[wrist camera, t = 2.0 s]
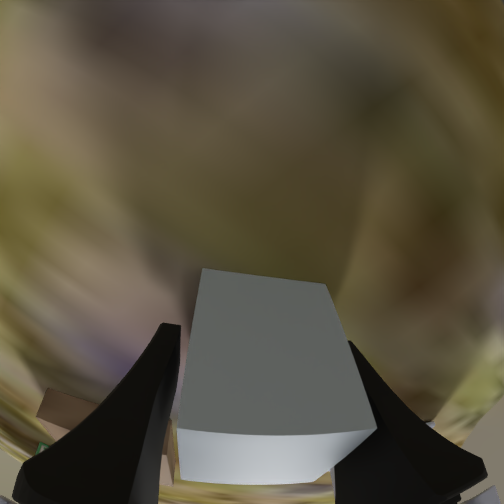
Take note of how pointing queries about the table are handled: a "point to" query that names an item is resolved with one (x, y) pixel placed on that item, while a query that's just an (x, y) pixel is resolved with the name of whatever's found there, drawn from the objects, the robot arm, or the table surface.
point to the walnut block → (76, 410)
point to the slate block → (267, 384)
